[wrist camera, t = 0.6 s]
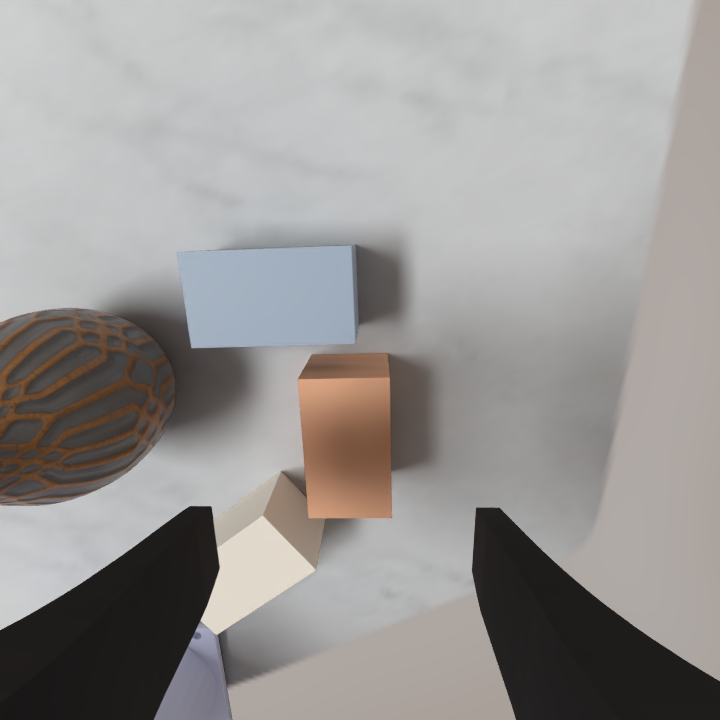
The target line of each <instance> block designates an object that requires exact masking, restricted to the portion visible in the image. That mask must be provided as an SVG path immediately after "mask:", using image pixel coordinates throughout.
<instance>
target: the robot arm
mask: <svg viewBox="0 0 720 720" xmlns="http://www.w3.org/2000/svg"><path fill="white" fill-rule="evenodd" d="M219 569H220V565H219V558H218V550H217V543H216V536H215V529H214V521H213V514H212V507H211V506H190V507H188V508H187V509H185V510H183V511H182V512H181V513H179V514H178V515H176V516H175V517H174V518H172V519H171V520H170V521H168V522H167V523H166V524H164V525H163V526H162V527H160V528H159V529H158V530H156V531H155V532H153V533H152V534H151V535H149V536H148V537H147V538H145V539H144V540H143V541H141V542H140V543H139V544H137V545H136V546H134V547H133V548H132V549H130V550H129V551H128V552H126V553H125V554H124V555H122V556H121V557H119V558H118V559H116V560H115V561H113V562H112V563H110V564H109V565H108V566H106V567H105V568H103V569H102V570H100V571H99V572H97V573H96V574H94V575H93V576H91V577H90V578H89V579H87V580H86V581H84V582H83V583H81V584H80V585H78V586H76V587H75V588H73V589H72V590H70V591H68V592H67V593H65V594H64V595H62V596H60V597H59V598H57V599H55V600H54V601H52V602H50V603H49V604H47V605H45V606H43V607H42V608H40V609H38V610H37V611H35V612H33V613H31V614H30V615H28V616H26V617H24V618H23V619H21V620H19V621H17V622H15V623H13V624H11V625H9V626H7V627H5V628H4V629H2V630H0V720H232V715H231V709H230V703H229V698H228V691H227V685H226V680H225V674H224V668H223V662H222V656H221V650H220V644H219V639H218V634H217V635H216V634H214V633H213V632H212V631H211V630H210V629H209V628H208V627H207V626H206V625H205V624H203V623H200V620H201V618H202V616H203V614H204V612H205V610H206V607H207V605H208V602H209V599H210V597H211V594H212V591H213V588H214V585H215V582H216V579H217V576H218V573H219ZM472 573H473V578H474V583H475V588H476V593H477V597H478V602H479V606H480V611H481V614H482V617H483V619H484V623H485V626H486V629H487V632H488V635H489V638H490V641H491V644H492V647H493V650H494V653H495V656H496V659H497V662H498V665H499V668H500V671H501V674H502V677H503V680H504V683H505V686H506V689H507V692H508V695H509V698H510V701H511V704H512V708H513V711H514V714H515V718H516V720H720V681H718V680H717V679H715V678H713V677H712V676H710V675H708V674H706V673H705V672H703V671H702V670H700V669H698V668H697V667H695V666H693V665H692V664H690V663H688V662H687V661H685V660H684V659H682V658H680V657H679V656H677V655H676V654H674V653H673V652H672V651H670V650H668V649H667V648H665V647H663V646H662V645H661V644H659V643H658V642H656V641H654V640H653V639H652V638H650V637H649V636H647V635H646V634H644V633H643V632H642V631H640V630H639V629H637V628H636V627H634V626H633V625H632V624H630V623H629V622H628V621H626V620H625V619H624V618H622V617H621V616H620V615H618V614H617V613H615V612H614V611H613V610H611V609H610V608H609V607H607V606H606V605H605V604H603V603H602V602H601V601H600V600H598V599H597V598H596V597H594V596H593V595H592V594H591V593H590V592H588V591H587V590H586V589H585V588H584V587H582V586H581V585H580V584H579V583H578V582H577V581H575V580H574V579H573V578H572V577H571V576H569V575H568V574H567V573H566V572H565V571H564V570H563V569H562V568H560V567H559V566H558V565H557V564H556V563H555V562H554V561H553V560H552V559H551V558H550V557H549V556H548V555H546V554H545V553H544V552H543V551H542V550H541V549H540V548H539V547H538V546H537V545H536V544H535V543H534V542H533V541H532V540H531V539H530V538H529V537H528V536H527V535H526V534H525V533H524V532H523V531H522V530H521V529H520V528H519V527H518V526H517V525H516V524H515V523H514V522H513V521H512V520H511V519H510V518H509V517H508V516H507V515H506V514H505V513H504V512H503V511H502V510H501V509H500V508H476V518H475V533H474V548H473V564H472Z"/></svg>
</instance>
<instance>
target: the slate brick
mask: <svg viewBox="0 0 720 720" xmlns="http://www.w3.org/2000/svg"><path fill="white" fill-rule="evenodd" d="M177 258H178V264H179V271H180V277H181V284H182V290H183V297H184V304H185V310H186V317H187V323H188V330H189V336H190V343H191V348H219V347H255V346H292V345H329V344H355V343H356V338H357V333H358V328H359V310H358V284H357V258H356V245H337V246H311V247H285V248H258V249H232V250H208V251H189V252H177Z"/></svg>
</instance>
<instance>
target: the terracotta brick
mask: <svg viewBox="0 0 720 720" xmlns="http://www.w3.org/2000/svg"><path fill="white" fill-rule="evenodd" d="M298 388H299V401H300V414H301V426H302V439H303V452H304V465H305V478H306V491H307V504H308V517H309V518H392V492H391V415H390V373H389V363H388V354H387V353H370V354H323V355H311V357H310V359H309V360H308V362H307V364H306V366H305V367H304V369H303V371H302V373H301V375H300V376H299V378H298Z"/></svg>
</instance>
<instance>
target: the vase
mask: <svg viewBox="0 0 720 720" xmlns="http://www.w3.org/2000/svg"><path fill="white" fill-rule="evenodd" d="M174 402H175V378H174V374H173V370H172V367H171V365H170V362H169V360H168V358H167V356H166V354H165V353H164V351H163V350H162V348H161V347H160V346H159V344H158V343H157V342H156V341H155V340H154V339H153V338H152V337H151V336H150V335H149V334H148V333H147V332H145V331H144V330H143V329H141V328H140V327H138V326H137V325H135V324H133V323H131V322H130V321H127V320H125V319H123V318H121V317H118V316H115V315H112V314H109V313H105V312H100V311H96V310H89V309H78V308H62V309H51V310H44V311H38V312H32V313H28V314H24V315H20V316H17V317H13V318H10V319H8V320H5V321H3V322H0V505H7V506H39V505H48V504H55V503H60V502H64V501H68V500H72V499H75V498H78V497H81V496H84V495H86V494H89V493H91V492H93V491H96V490H98V489H100V488H102V487H104V486H106V485H108V484H110V483H112V482H114V481H115V480H117V479H118V478H120V477H121V476H123V475H124V474H126V473H127V472H128V471H130V470H131V469H132V468H133V467H134V466H136V465H137V464H138V463H139V462H140V461H141V460H142V459H143V458H144V457H145V456H146V455H147V454H148V453H149V452H150V451H151V449H152V448H153V447H154V446H155V445H156V443H157V442H158V441H159V439H160V438H161V436H162V434H163V432H164V431H165V429H166V427H167V425H168V423H169V420H170V417H171V414H172V411H173V407H174Z"/></svg>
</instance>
